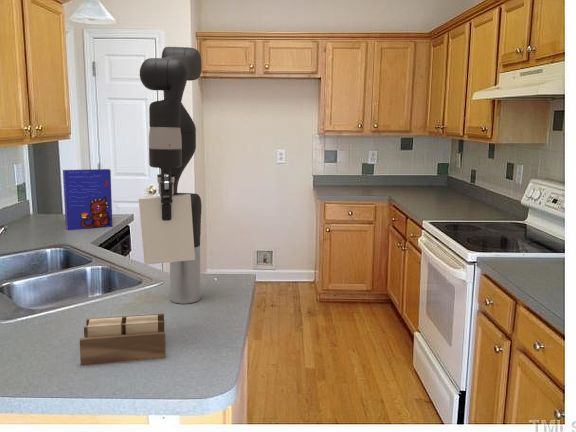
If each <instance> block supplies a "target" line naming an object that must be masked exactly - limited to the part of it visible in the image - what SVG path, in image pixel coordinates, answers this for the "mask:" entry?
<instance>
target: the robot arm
mask: <svg viewBox="0 0 576 432" xmlns="http://www.w3.org/2000/svg"><path fill="white" fill-rule="evenodd" d="M201 73H202V57H201V54H200V52H199V50H198V49H197V48H194V47H188V46H186V47H183V46H165V47H164V48H163V49H162V51H161V57H152V58H150V57H149V58H147V59H145V60H144V61H142V63H141V66H140V69H139V78H140V79H139V80H140V82H141V83H142V85H143V86H144V87H145V88H146V89H148V90H151V91H163V99H161V100H155V101H153V102H151V103H150V104H149V109H148V110H149V111H148V113H149V116H148V118H149V119H148V121H149V122H148V123H149V132H148V164H149V167H151V168H156V169H158V168H159V169H160V173H159V174H157V178H156V179H157V184H158V195H159V196H161V205H162V220H164V221H167V220H171V205H172V202H173V200H172V195H185V194H190V195H191V208H192V223H193V237H194V251H195V260H188V261H177V262H169V290H170V294H169V297H170V301H171V302H172V303H176V304H181V305H182V304H193V303H196V302H199V301H200V300H201V229H202V226H201V225H202V223H201V222H202V208H203V207H202V199H201V196H200V194H198V193H192V192H191V193H190V192H178V187H179V186H178V185H179V181H180V177H181V176H182V175H183V172H184V170H185V168H186V167H187V166H188V164H189V163H190V161H191V159H192V158H193V156H194V155H195V152H196V147H197V128H196V125H195V122H194V121H193V119H192V117H191V115H190V113H189V112H188V110H187V109H186V107H185V106H184V104H183V102H182V100H183V97H184V96H183V95H184V93H185V89H186V86H187V81H189V82H190V81H196V80H198V79H199V78H200V76H201ZM163 196H170V198H163Z"/></svg>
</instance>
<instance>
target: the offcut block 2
mask: <svg viewBox="0 0 576 432" xmlns="http://www.w3.org/2000/svg"><path fill="white" fill-rule="evenodd" d="M146 315H147V316H136V315H131V316H132V317H127V318H126V335H129V334H143V333H156V332H158V315H151V314H146Z"/></svg>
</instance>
